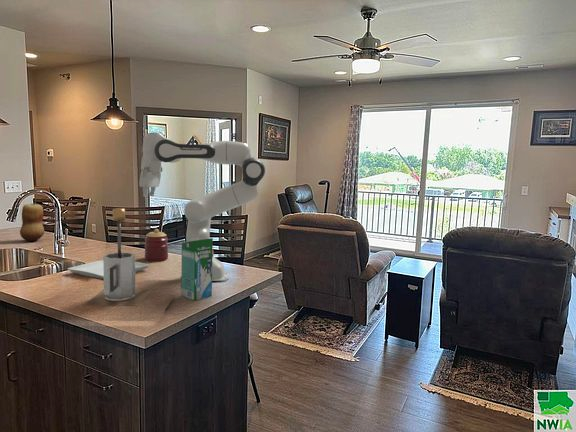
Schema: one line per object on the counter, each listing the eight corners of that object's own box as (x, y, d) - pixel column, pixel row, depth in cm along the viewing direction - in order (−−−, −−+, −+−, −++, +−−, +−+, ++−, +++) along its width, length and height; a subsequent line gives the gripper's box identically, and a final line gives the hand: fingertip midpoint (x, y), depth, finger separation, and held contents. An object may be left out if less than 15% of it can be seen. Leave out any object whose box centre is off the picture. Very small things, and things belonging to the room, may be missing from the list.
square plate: (150, 271, 201) (150, 263, 201) (106, 284, 177) (106, 275, 176) (113, 263, 213) (112, 256, 212) (66, 275, 188) (65, 267, 187)
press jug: (138, 292, 161) (138, 252, 159) (126, 304, 147) (126, 261, 145) (110, 292, 160) (110, 252, 158) (96, 304, 146) (95, 260, 144)
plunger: (132, 267, 158) (132, 208, 155) (126, 272, 150) (125, 210, 148) (113, 266, 157) (112, 207, 155) (105, 271, 150) (104, 209, 147)
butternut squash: (38, 243, 255) (37, 205, 252) (16, 242, 253) (14, 204, 250) (48, 239, 269) (47, 203, 266) (27, 239, 267) (25, 202, 264)
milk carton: (198, 291, 171) (199, 234, 168) (211, 296, 165) (212, 237, 162) (181, 295, 164) (181, 237, 161) (194, 301, 158) (195, 240, 155)
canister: (161, 262, 218) (161, 231, 216) (140, 260, 220) (139, 229, 218) (172, 257, 231) (172, 228, 229) (151, 255, 233) (151, 226, 231)
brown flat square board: (152, 292, 166) (152, 289, 166) (137, 309, 146) (137, 305, 146) (104, 292, 165) (103, 288, 164) (82, 309, 145) (82, 305, 145)
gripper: (151, 167, 174) (148, 198, 175) (163, 168, 194) (161, 196, 195) (136, 165, 173) (134, 196, 174) (150, 167, 193) (148, 194, 195)
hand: (148, 196), depth 185 cm, fingers open, 8 cm apart
